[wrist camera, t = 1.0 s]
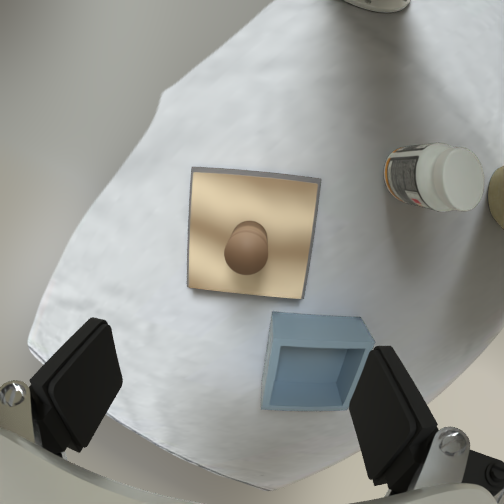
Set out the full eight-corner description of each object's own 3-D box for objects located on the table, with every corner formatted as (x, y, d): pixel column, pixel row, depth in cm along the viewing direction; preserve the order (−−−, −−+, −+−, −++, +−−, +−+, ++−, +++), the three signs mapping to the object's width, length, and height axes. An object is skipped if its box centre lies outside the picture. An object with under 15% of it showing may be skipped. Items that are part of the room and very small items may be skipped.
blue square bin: (272, 311, 29) (273, 338, 24) (360, 317, 29) (375, 341, 24) (261, 380, 32) (261, 409, 27) (338, 382, 31) (347, 410, 27)
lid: (196, 172, 25) (176, 172, 19) (315, 183, 24) (331, 187, 19) (191, 282, 28) (173, 311, 22) (299, 293, 28) (308, 325, 22)
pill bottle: (412, 212, 25) (471, 233, 16) (372, 182, 25) (425, 191, 15) (434, 167, 24) (496, 172, 14) (395, 135, 23) (453, 124, 14)
